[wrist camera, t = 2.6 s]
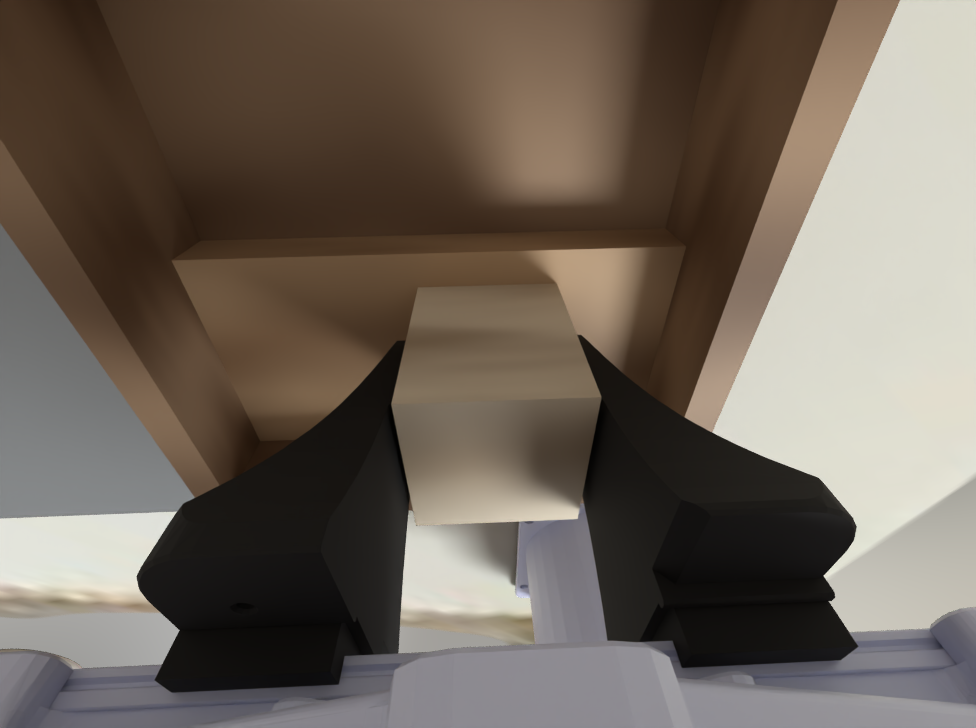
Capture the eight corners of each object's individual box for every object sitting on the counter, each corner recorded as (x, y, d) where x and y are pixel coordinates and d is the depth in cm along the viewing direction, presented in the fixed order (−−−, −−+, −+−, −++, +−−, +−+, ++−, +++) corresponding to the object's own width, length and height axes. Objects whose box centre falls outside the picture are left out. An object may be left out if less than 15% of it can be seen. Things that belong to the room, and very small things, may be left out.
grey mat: (256, 497, 20) (251, 508, 20) (8, 507, 20) (-4, 518, 20) (90, 204, 12) (75, 209, 12) (-337, 214, 12) (-371, 221, 11)
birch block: (546, 389, 14) (577, 518, 10) (431, 393, 14) (415, 525, 10) (556, 283, 12) (601, 396, 8) (417, 287, 12) (391, 404, 8)
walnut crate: (639, 409, 18) (682, 499, 14) (263, 423, 17) (209, 518, 14) (801, -181, 8) (1060, -368, 5) (-16, -175, 8) (-421, -372, 4)
